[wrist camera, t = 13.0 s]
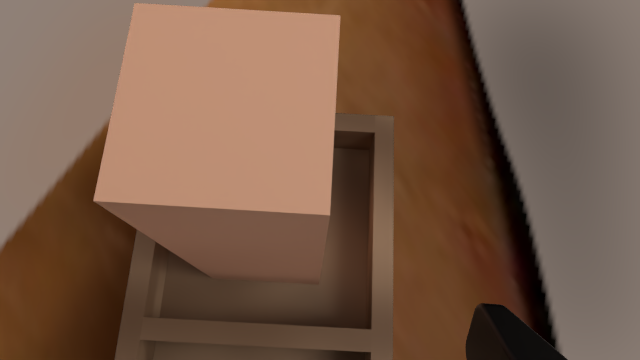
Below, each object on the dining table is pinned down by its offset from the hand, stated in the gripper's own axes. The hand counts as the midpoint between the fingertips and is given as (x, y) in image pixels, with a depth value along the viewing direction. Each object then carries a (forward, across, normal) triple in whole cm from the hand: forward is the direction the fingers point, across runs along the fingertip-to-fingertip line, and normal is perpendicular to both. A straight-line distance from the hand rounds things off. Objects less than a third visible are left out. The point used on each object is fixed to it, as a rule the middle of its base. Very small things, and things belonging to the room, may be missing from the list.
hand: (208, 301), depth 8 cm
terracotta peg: (+12, 0, +6) cm, 13 cm away
